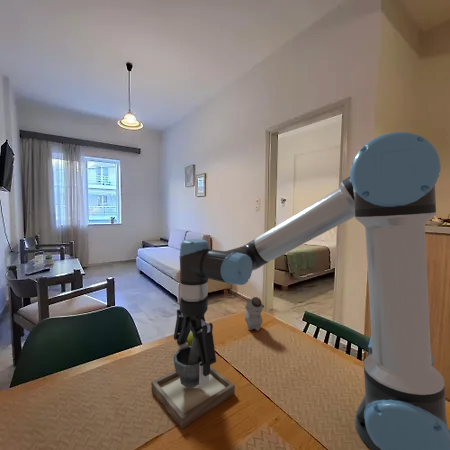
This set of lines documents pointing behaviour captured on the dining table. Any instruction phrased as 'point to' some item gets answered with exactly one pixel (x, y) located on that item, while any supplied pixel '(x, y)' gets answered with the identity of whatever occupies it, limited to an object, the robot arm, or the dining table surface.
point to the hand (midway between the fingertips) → (193, 374)
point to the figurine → (253, 313)
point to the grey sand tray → (191, 396)
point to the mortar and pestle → (188, 364)
